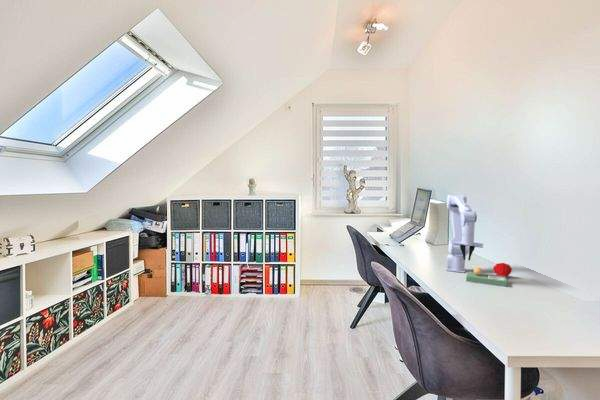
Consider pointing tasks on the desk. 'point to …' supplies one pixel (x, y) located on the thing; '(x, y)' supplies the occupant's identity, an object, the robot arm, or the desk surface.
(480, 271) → the ball
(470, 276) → the green flat board
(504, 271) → the gemstone
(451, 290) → the desk surface
